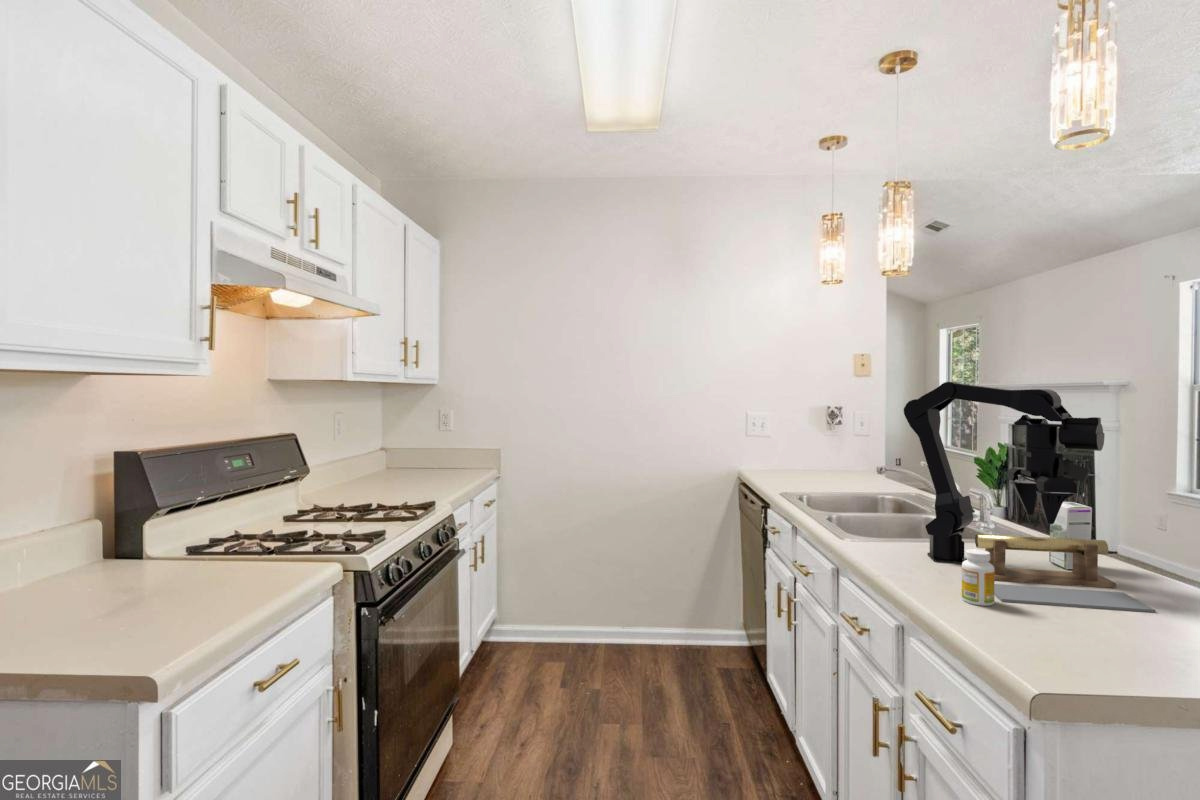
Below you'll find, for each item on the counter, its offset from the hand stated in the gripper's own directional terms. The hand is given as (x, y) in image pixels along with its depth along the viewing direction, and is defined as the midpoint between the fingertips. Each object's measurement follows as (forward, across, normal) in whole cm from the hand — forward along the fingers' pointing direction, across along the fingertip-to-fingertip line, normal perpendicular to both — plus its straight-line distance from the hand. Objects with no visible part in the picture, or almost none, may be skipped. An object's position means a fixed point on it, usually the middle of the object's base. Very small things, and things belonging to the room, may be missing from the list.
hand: (1040, 519), depth 132 cm
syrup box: (+13, +12, -11) cm, 21 cm away
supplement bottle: (+13, -19, +18) cm, 30 cm away
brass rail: (+7, 0, 0) cm, 7 cm away
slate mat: (+13, -13, +1) cm, 19 cm away
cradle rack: (+13, 0, 0) cm, 13 cm away
